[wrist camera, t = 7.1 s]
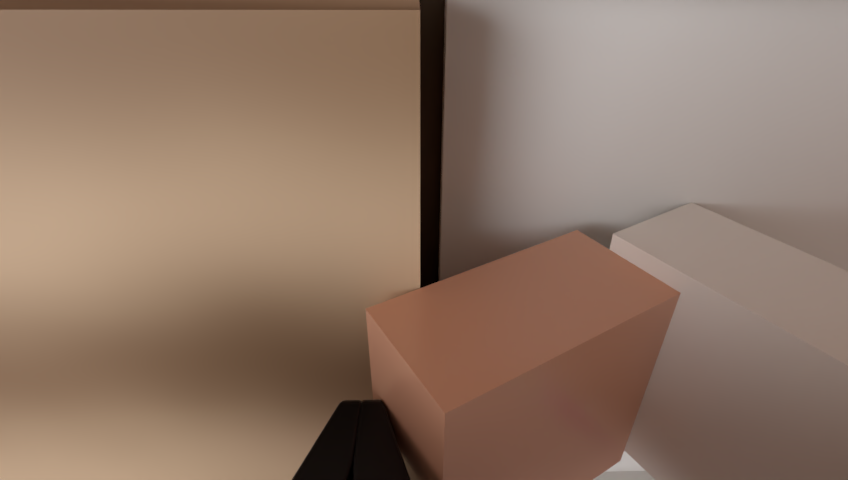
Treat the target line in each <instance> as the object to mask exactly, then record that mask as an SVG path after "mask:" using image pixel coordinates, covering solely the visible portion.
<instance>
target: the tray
mask: <svg viewBox="0 0 848 480" xmlns="http://www.w3.org/2000/svg"><path fill="white" fill-rule="evenodd" d="M691 202H692V203H694V204H696V205H699V206H701V207H703V208H705V209H708V210H710V211H712V212H715V213H717V214H719V215H721V216H724V217H726V218H728V219H730V220H733V221H735V222H737V223H740V224H742V225H744V226H746V227H749V228H751V229H753V230H755V231H758V232H760V233H762V234H764V235H767V236H769V237H771V238H774V239H776V240H778V241H780V242H783V243H785V244H787V245H789V246H792V247H794V248H796V249H799V250H801V251H803V252H805V253H808V254H810V255H812V256H814V257H817V258H819V259H821V260H823V261H826V262H828V263H830V264H833V265H835V266H837V267H839V268H842V269H844V270H846V271H848V0H445V13H444V55H443V97H442V139H441V181H440V223H439V265H438V281H441V280H444V279H447V278H449V277H452V276H455V275H457V274H460V273H463V272H465V271H468V270H471V269H473V268H476V267H479V266H481V265H484V264H487V263H490V262H492V261H495V260H498V259H500V258H503V257H506V256H508V255H511V254H514V253H516V252H519V251H522V250H524V249H527V248H530V247H532V246H535V245H538V244H541V243H543V242H546V241H549V240H551V239H554V238H557V237H559V236H562V235H565V234H567V233H570V232H573V231H575V230H578V231H580V232H582V233H583V234H585V235H586V236H588V237H590V238H591V239H593V240H595V241H596V242H598V243H600V244H601V245H603V246H604V247H606V248H608V249H610V245H611V240H612V236H613V233H616V232H618V231H621V230H623V229H626V228H628V227H631V226H633V225H636V224H639V223H641V222H644V221H646V220H649V219H651V218H654V217H656V216H659V215H661V214H664V213H666V212H669V211H671V210H674V209H676V208H679V207H681V206H684V205H686V204H689V203H691ZM593 480H655V479H654V478H653V477H652V476H651V475H650V474H649V473H648V472H646V471H645V470H644V469H643V468H642V467H641V466H640V465H639V464H638V463H637V462H636V461H635V460H634V459H633V458H632V457H631V456H630V455H628V454H627V453H626V452H625V451H624V452H623V455H622V458H621V460H620V461H619V462H618V463H616V464H615V465H613V466H612V467H611V468H609V469H608V470H606V471H605V472H603V473H602V474H600V475H599V476H597V477H596V478H595V479H593Z"/></svg>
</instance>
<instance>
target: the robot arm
mask: <svg viewBox="0 0 848 480" xmlns="http://www.w3.org/2000/svg"><path fill="white" fill-rule="evenodd" d="M292 480H410V477H409V474H408V471H407V468H406V466H405V463H404V460H403V457H402V454H401V451H400V449H399V446H398V443H397V440H396V437H395V434H394V432H393V429H392V426H391V423H390V420H389V417H388V415H387V412H386V409H385V406H384V403H383V402H382V400H379V399H378V400H363V401H361V400H344V401H341V402H340V403H339V405H338V406H337V408H336V409H335V411H334V412H333V414H332V416H331V417H330V419H329V421H328V422H327V424H326V425H325V427H324V429H323V430H322V432H321V433H320V435H319V437H318V438H317V440H316V441H315V443H314V445H313V446H312V448H311V449H310V451H309V453H308V454H307V456H306V457H305V459H304V461H303V462H302V464H301V466H300V467H299V469H298V470H297V472H296V474H295V475H294V477H293V478H292Z"/></svg>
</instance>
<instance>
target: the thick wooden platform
mask: <svg viewBox="0 0 848 480" xmlns="http://www.w3.org/2000/svg"><path fill="white" fill-rule="evenodd" d="M417 289H420V3H419V0H0V480H292V478H293V477H294V475H295V474H296V472H297V470H298V469H299V467H300V466H301V464H302V462H303V461H304V459H305V457H306V456H307V454H308V453H309V451H310V449H311V448H312V446H313V445H314V443H315V441H316V440H317V438H318V437H319V435H320V433H321V432H322V430H323V429H324V427H325V425H326V424H327V422H328V421H329V419H330V417H331V416H332V414H333V412H334V411H335V409H336V408H337V406H338V405H339V403H340V402H341V401H344V400H361V401H363V400H373V391H372V380H371V368H370V356H369V344H368V332H367V321H366V308H369V307H371V306H374V305H377V304H379V303H382V302H385V301H387V300H390V299H393V298H395V297H398V296H401V295H404V294H406V293H409V292H412V291H414V290H417Z"/></svg>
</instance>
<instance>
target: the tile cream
mask: <svg viewBox="0 0 848 480" xmlns="http://www.w3.org/2000/svg"><path fill="white" fill-rule="evenodd" d="M609 250H611V251H613V252H614V253H616V254H618V255H619V256H621V257H622V258H624V259H626V260H627V261H629V262H631V263H632V264H634V265H636V266H637V267H639V268H641V269H642V270H644V271H645V272H647V273H649V274H650V275H652V276H654V277H655V278H657V279H659V280H660V281H662V282H664V283H665V284H667V285H668V286H670V287H672V288H673V289H675V290H677V291H678V292H680V296H679V299H678V302H677V305H676V307H675V310H674V313H673V316H672V318H671V321H670V324H669V327H668V330H667V332H666V335H665V338H664V341H663V343H662V346H661V349H660V352H659V355H658V357H657V360H656V363H655V366H654V369H653V371H652V374H651V377H650V380H649V382H648V385H647V388H646V391H645V394H644V396H643V399H642V402H641V405H640V407H639V410H638V413H637V416H636V419H635V421H634V424H633V427H632V430H631V432H630V435H629V438H628V441H627V444H626V446H625V449H624V451H625V452H626V453H627V454H628V455H630V456H631V457H632V458H633V459H634V460H635V461H636V462H637V463H638V464H639V465H640V466H641V467H642V468H643V469H644V470H645V471H646V472H648V473H649V474H650V475H651V476H652V477H653V478H654V479H655V480H848V271H846V270H844V269H842V268H839V267H837V266H835V265H833V264H830V263H828V262H826V261H823V260H821V259H819V258H817V257H814V256H812V255H810V254H808V253H805V252H803V251H801V250H799V249H796V248H794V247H792V246H789V245H787V244H785V243H783V242H780V241H778V240H776V239H774V238H771V237H769V236H767V235H764V234H762V233H760V232H758V231H755V230H753V229H751V228H749V227H746V226H744V225H742V224H740V223H737V222H735V221H733V220H730V219H728V218H726V217H724V216H721V215H719V214H717V213H715V212H712V211H710V210H708V209H705V208H703V207H701V206H699V205H696V204H694V203H692V202H691V203H689V204H686V205H684V206H681V207H679V208H676V209H674V210H671V211H669V212H666V213H664V214H661V215H659V216H656V217H654V218H651V219H649V220H646V221H644V222H641V223H639V224H636V225H633V226H631V227H628V228H626V229H623V230H621V231H618V232H616V233H613V236H612V240H611V245H610V249H609Z"/></svg>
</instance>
